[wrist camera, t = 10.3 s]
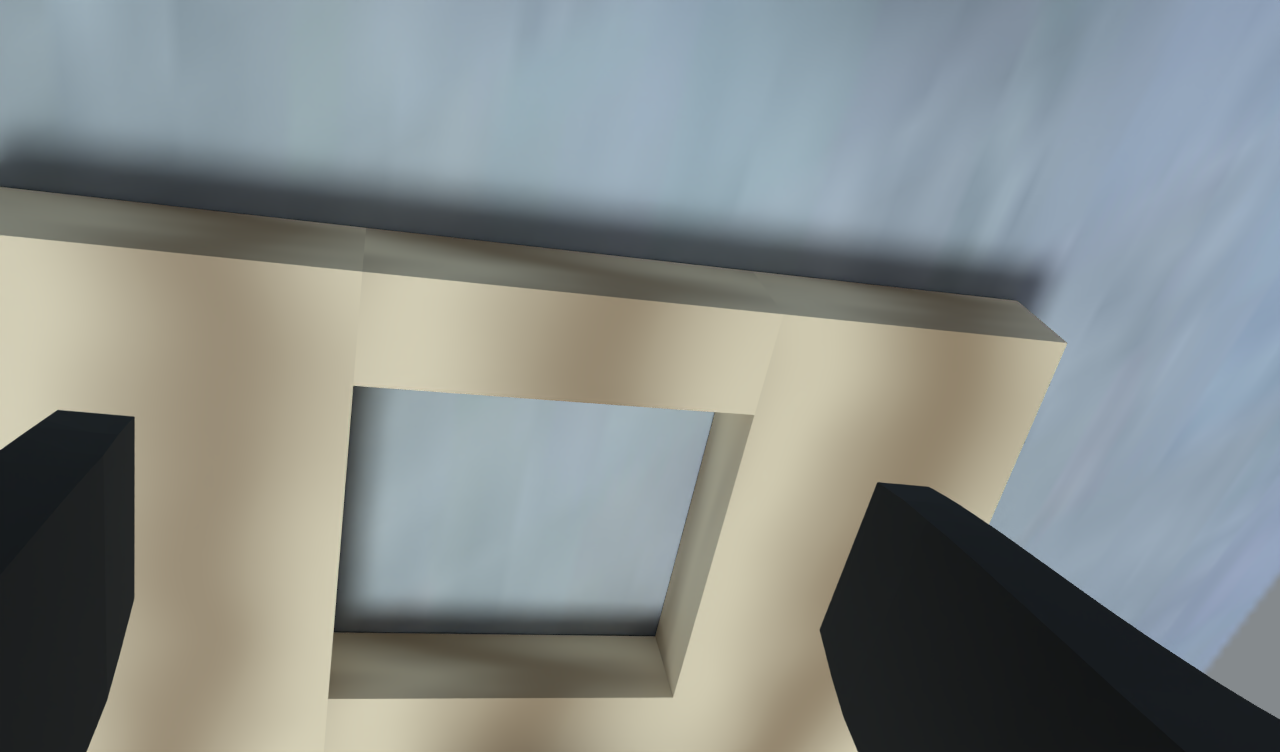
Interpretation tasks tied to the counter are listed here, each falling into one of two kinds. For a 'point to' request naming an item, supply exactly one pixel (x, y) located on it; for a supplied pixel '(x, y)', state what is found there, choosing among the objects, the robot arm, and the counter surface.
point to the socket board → (494, 366)
